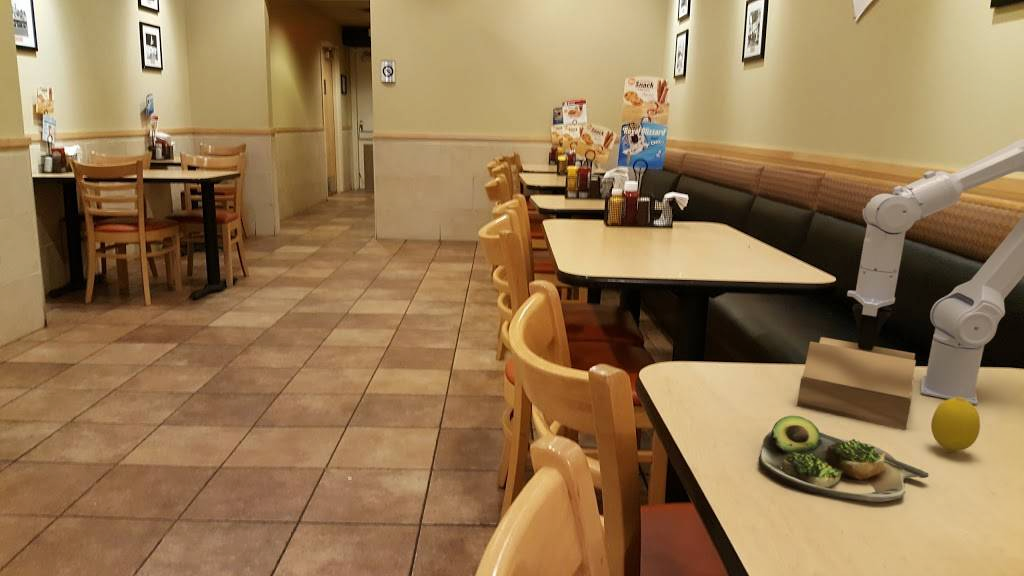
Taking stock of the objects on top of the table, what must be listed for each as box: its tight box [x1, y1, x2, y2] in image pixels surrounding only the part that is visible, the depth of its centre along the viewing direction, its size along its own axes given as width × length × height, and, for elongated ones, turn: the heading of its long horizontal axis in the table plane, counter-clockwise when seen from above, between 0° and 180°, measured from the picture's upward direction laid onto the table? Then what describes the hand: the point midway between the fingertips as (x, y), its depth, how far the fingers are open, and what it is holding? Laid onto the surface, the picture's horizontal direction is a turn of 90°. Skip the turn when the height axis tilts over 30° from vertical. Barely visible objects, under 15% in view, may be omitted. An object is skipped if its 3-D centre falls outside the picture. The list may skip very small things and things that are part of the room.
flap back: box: [818, 336, 916, 360], centre depth 122 cm, size 6×14×1 cm, turn 59°
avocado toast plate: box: [758, 415, 929, 503], centre depth 93 cm, size 19×18×5 cm
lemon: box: [930, 397, 981, 454], centre depth 99 cm, size 6×6×8 cm
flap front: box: [802, 341, 917, 398], centre depth 110 cm, size 6×14×1 cm
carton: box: [796, 375, 914, 431], centre depth 115 cm, size 12×15×4 cm
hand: (865, 348), depth 123 cm, fingers closed
